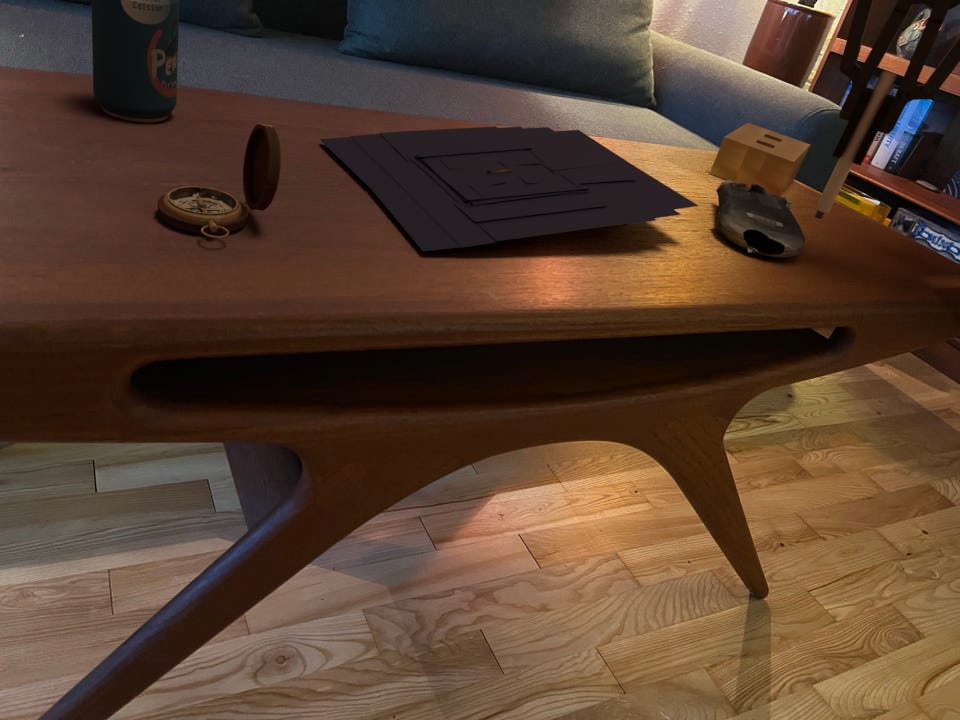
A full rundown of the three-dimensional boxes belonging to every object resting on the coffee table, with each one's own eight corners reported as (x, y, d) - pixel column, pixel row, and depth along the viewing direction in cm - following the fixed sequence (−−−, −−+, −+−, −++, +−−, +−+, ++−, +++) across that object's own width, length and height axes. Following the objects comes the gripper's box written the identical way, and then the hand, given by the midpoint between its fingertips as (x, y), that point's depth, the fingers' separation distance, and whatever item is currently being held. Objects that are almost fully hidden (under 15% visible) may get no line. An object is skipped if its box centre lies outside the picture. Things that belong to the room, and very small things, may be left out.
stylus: (825, 218, 81) (897, 74, 74) (823, 221, 80) (897, 75, 72) (812, 213, 82) (883, 70, 74) (810, 216, 81) (882, 71, 73)
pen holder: (794, 178, 112) (810, 144, 109) (777, 199, 100) (794, 161, 97) (733, 156, 114) (747, 122, 112) (709, 173, 102) (724, 136, 100)
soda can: (171, 129, 70) (175, -14, 64) (86, 116, 68) (82, -33, 62) (179, 107, 76) (184, -27, 70) (101, 94, 74) (98, -45, 67)
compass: (148, 199, 57) (150, 100, 54) (257, 202, 61) (265, 111, 58) (168, 249, 52) (171, 143, 48) (285, 249, 56) (296, 151, 52)
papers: (704, 240, 75) (715, 205, 73) (421, 284, 61) (425, 242, 59) (564, 147, 91) (570, 116, 89) (317, 164, 78) (318, 129, 76)
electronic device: (698, 211, 92) (716, 240, 78) (722, 167, 90) (745, 188, 76) (770, 244, 92) (801, 278, 78) (795, 201, 90) (831, 228, 76)
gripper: (892, -138, 65) (771, 138, 77) (1080, -94, 60) (920, 192, 72) (896, -125, 71) (783, 129, 83) (1067, -85, 66) (922, 177, 78)
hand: (847, 158), depth 78 cm, fingers closed on stylus
